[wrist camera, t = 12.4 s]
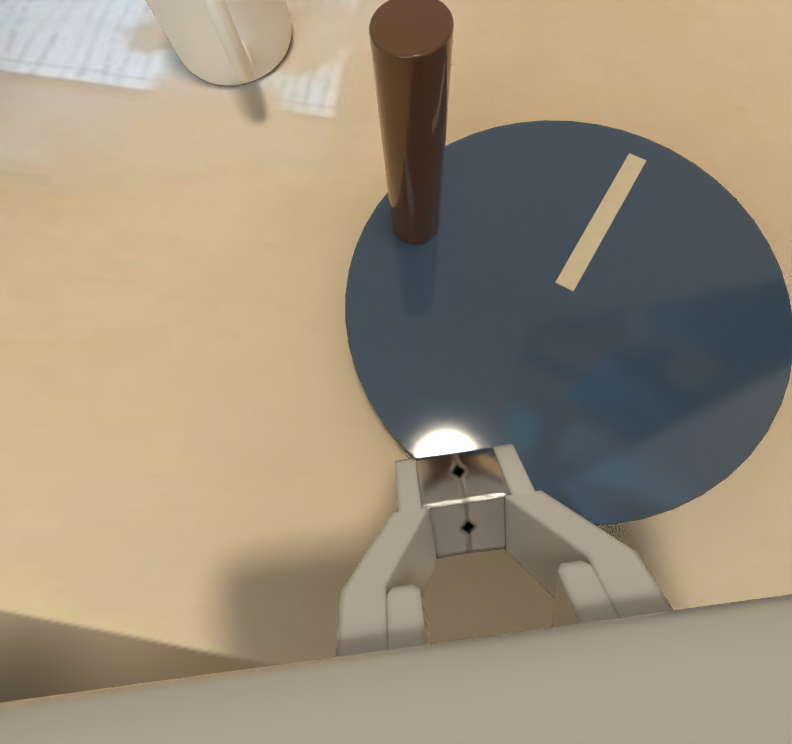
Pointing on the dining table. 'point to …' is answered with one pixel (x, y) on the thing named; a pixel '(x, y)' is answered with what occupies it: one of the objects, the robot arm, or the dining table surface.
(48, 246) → the dining table surface
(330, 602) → the dining table surface
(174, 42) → the cup
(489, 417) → the blue disc with peg
